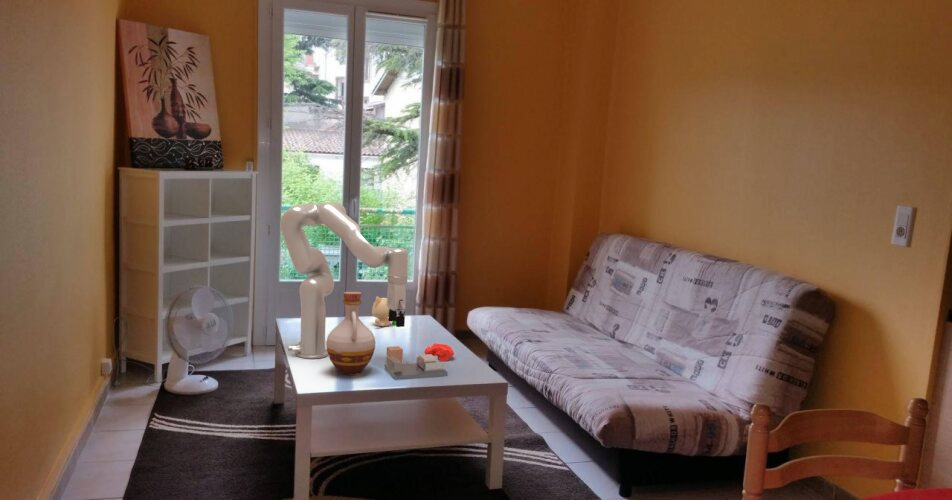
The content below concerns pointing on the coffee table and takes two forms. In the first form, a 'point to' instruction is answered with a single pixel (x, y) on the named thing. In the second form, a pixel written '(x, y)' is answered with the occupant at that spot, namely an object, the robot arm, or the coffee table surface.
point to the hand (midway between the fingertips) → (396, 323)
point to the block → (395, 352)
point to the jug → (351, 339)
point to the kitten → (381, 312)
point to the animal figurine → (440, 351)
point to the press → (414, 369)
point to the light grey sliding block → (426, 359)
